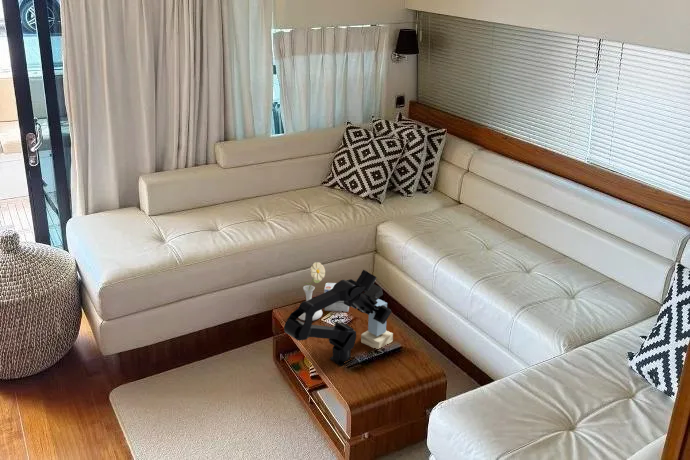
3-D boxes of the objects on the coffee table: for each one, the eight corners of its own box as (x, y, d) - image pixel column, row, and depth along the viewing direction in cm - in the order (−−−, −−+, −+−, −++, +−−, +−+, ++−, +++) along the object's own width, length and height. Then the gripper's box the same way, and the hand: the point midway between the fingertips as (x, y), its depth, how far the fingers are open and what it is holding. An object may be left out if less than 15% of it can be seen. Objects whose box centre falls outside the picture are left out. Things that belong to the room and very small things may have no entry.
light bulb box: (349, 304, 299) (350, 282, 295) (348, 312, 293) (348, 290, 288) (325, 303, 300) (325, 281, 295) (323, 311, 294) (323, 289, 289)
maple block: (378, 351, 266) (379, 342, 264) (361, 343, 271) (361, 334, 269) (392, 341, 272) (393, 333, 270) (375, 333, 277) (375, 325, 276)
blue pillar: (376, 336, 266) (377, 307, 261) (368, 331, 270) (368, 302, 265) (386, 331, 269) (387, 303, 264) (377, 326, 273) (378, 298, 268)
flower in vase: (302, 325, 282) (301, 272, 272) (291, 313, 291) (290, 261, 282) (330, 318, 288) (330, 265, 278) (319, 306, 297) (318, 255, 287)
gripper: (388, 290, 251) (407, 307, 263) (354, 273, 264) (374, 290, 275) (372, 316, 250) (392, 331, 261) (339, 297, 262) (359, 313, 273)
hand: (380, 315), depth 268 cm, fingers closed on blue pillar, 5 cm apart
